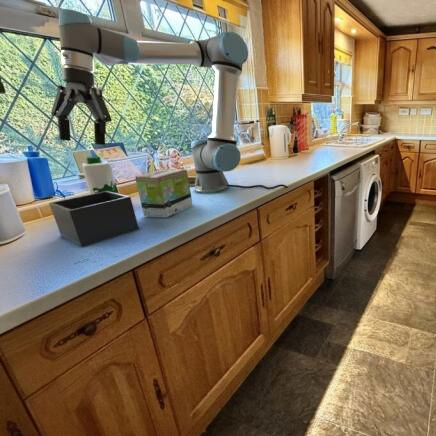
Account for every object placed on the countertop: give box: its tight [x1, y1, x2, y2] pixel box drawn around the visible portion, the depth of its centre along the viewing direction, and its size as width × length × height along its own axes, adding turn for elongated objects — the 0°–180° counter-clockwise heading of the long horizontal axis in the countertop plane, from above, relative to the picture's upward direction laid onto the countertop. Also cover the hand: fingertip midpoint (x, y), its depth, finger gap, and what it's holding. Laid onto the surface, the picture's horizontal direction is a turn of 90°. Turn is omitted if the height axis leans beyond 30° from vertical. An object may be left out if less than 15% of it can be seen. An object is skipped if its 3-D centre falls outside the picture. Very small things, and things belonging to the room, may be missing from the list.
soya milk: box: [81, 156, 120, 195], centre depth 115 cm, size 9×9×20 cm
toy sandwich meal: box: [188, 175, 196, 187], centre depth 155 cm, size 12×14×5 cm
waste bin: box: [48, 191, 140, 248], centre depth 93 cm, size 16×16×11 cm
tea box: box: [135, 168, 194, 219], centre depth 111 cm, size 15×10×15 cm, turn 168°
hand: (82, 142), depth 95 cm, fingers open, 13 cm apart
